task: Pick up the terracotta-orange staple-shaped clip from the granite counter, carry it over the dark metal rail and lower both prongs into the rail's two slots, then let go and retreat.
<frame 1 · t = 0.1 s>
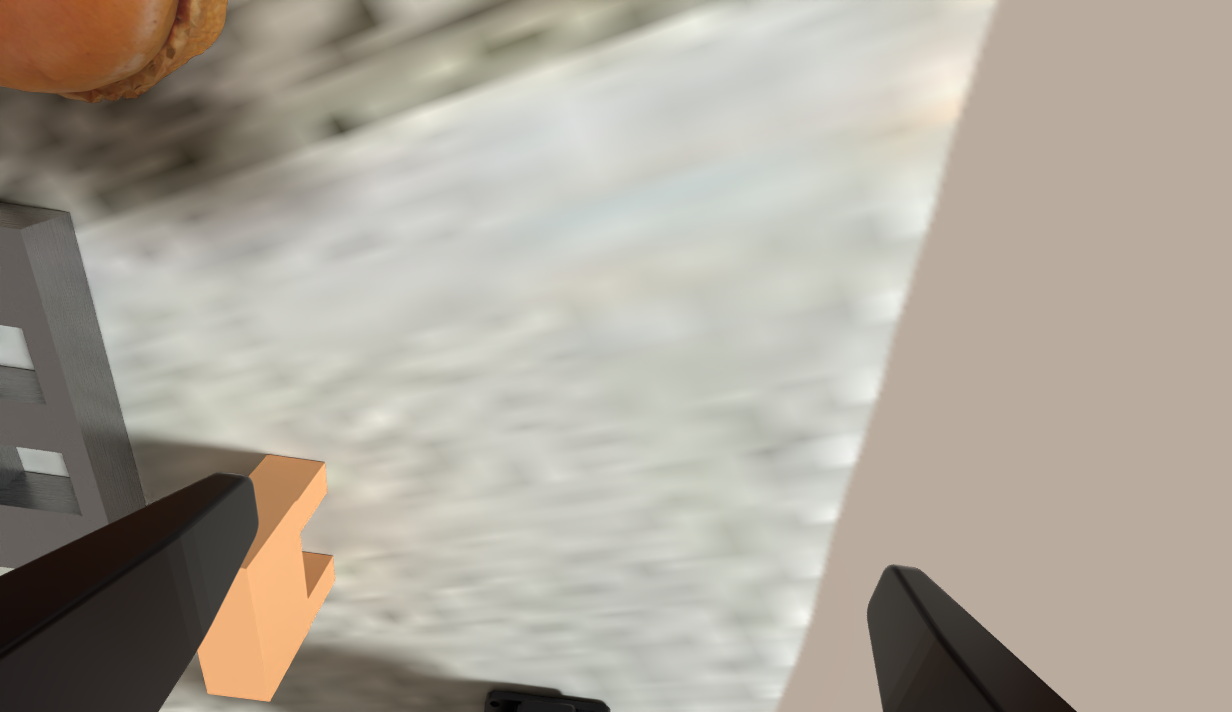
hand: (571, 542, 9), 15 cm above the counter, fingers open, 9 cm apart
clip: (303, 521, 29), on the counter
rail: (44, 394, 26), on the counter
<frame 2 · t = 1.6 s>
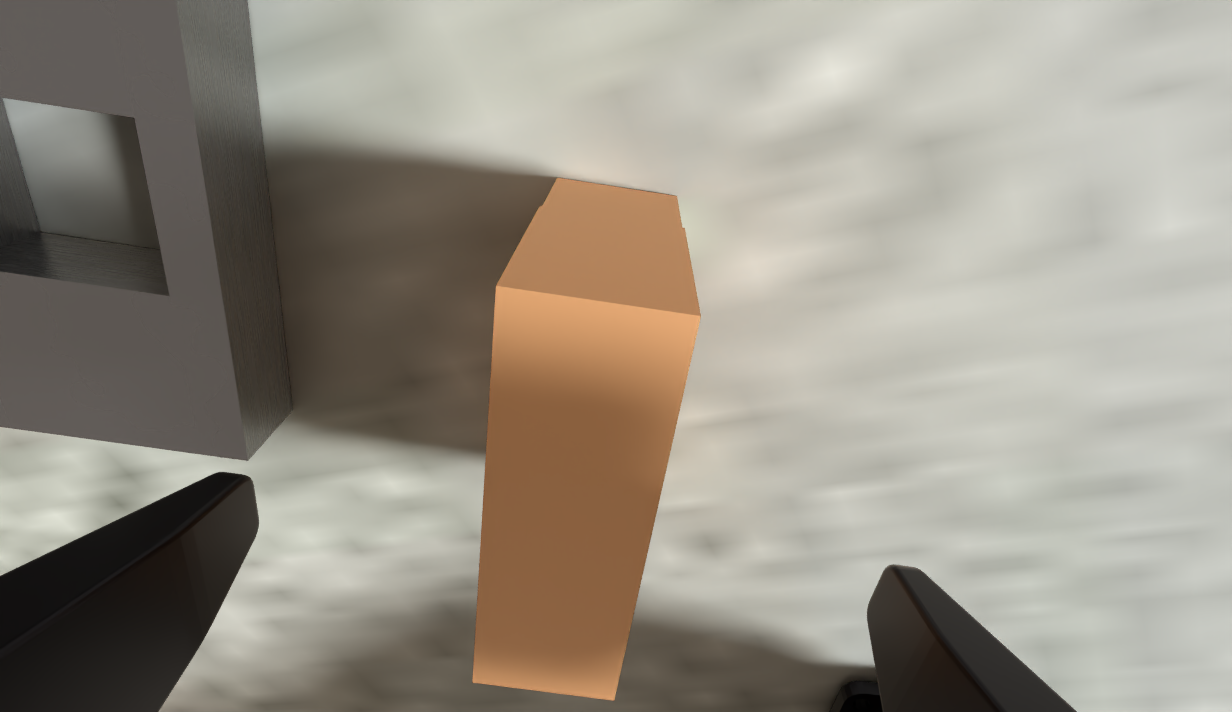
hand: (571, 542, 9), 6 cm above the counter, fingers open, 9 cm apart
clip: (594, 342, 14), on the counter
rail: (87, 22, 12), on the counter
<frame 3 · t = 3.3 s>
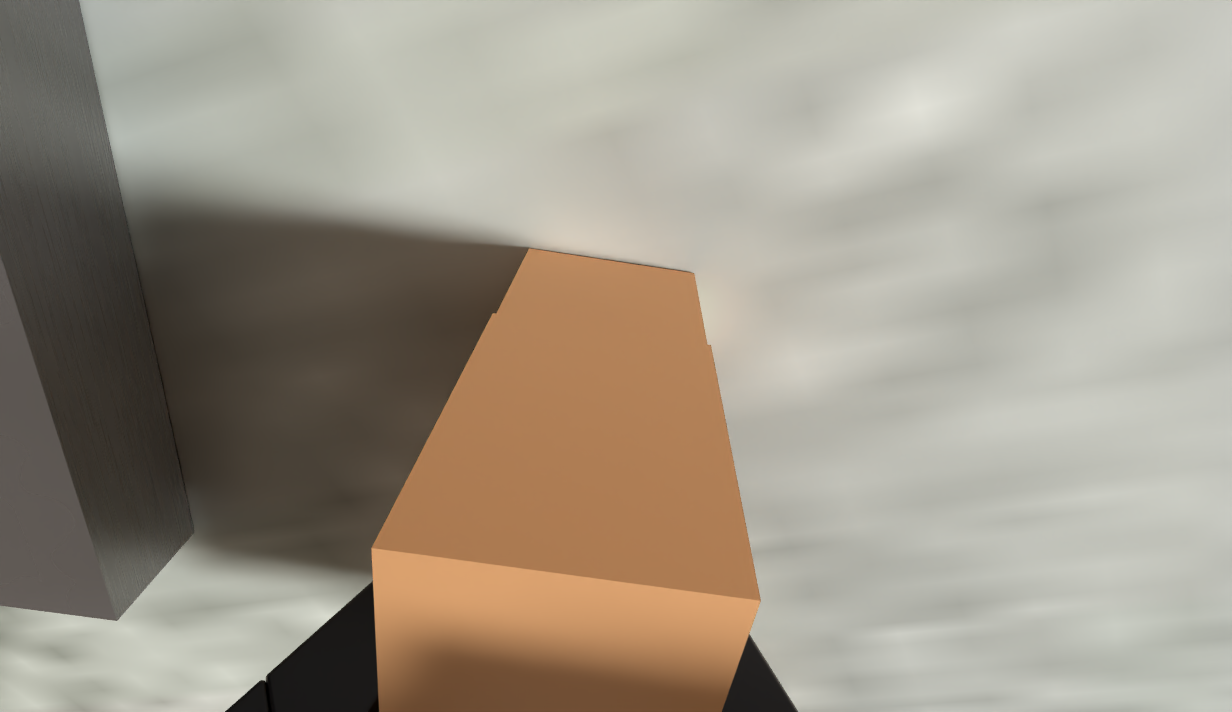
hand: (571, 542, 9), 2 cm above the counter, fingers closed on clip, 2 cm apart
clip: (583, 455, 11), on the counter, touching gripper
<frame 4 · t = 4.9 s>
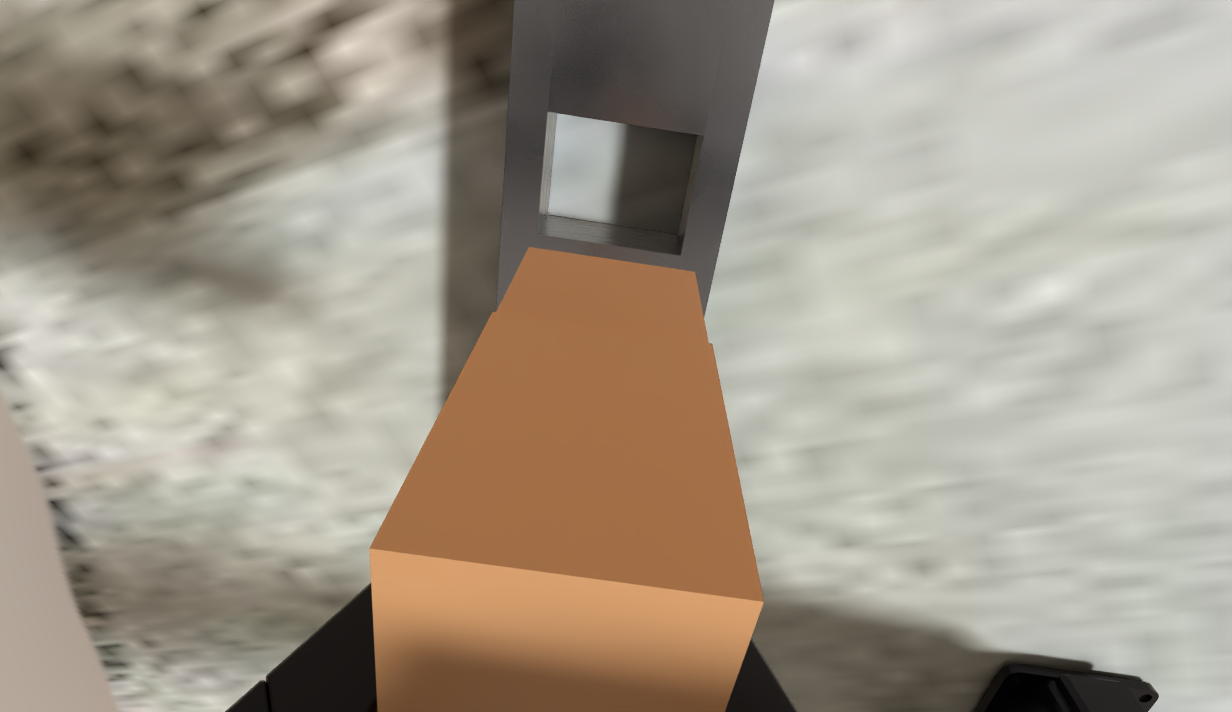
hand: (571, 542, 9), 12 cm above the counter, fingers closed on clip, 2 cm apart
clip: (583, 455, 11), point 10 cm above the counter, touching gripper
rail: (608, 259, 20), on the counter
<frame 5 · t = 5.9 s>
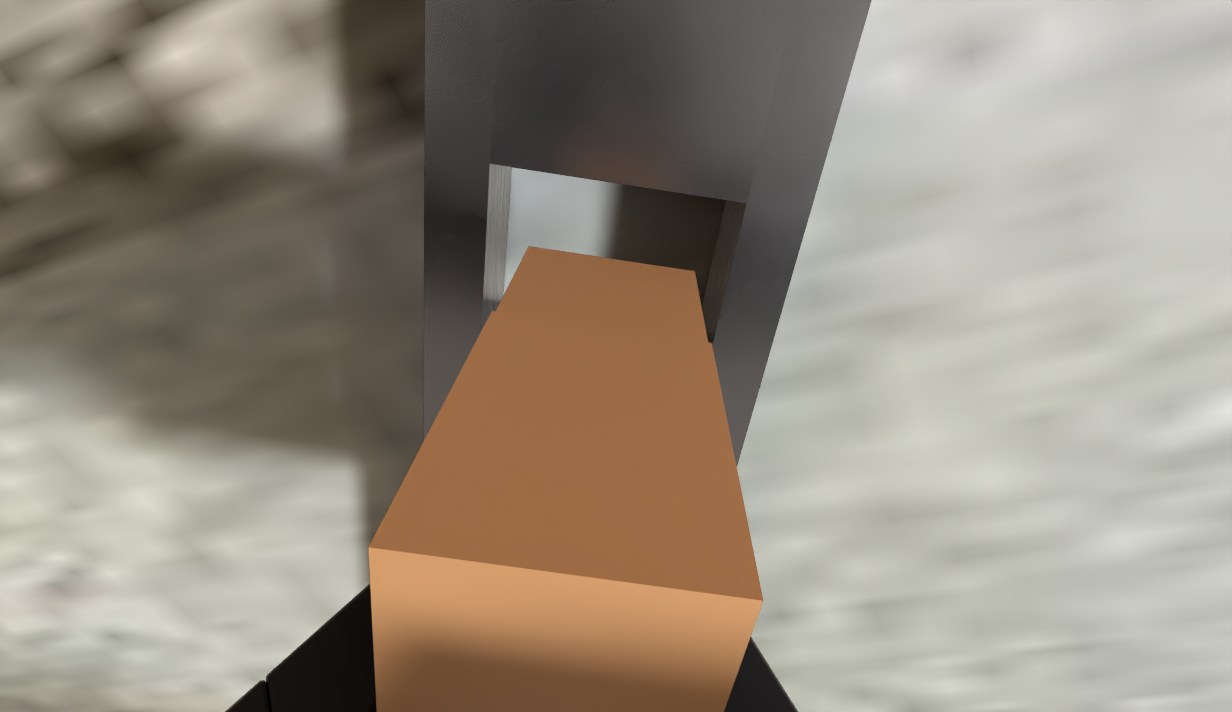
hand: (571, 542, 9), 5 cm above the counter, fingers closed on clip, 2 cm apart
clip: (583, 455, 11), point 3 cm above the counter, touching gripper
rail: (593, 363, 14), on the counter
when the fingers open (3 cm above the counter, at t = 6.8 s): clip drops 1 cm, on the counter.
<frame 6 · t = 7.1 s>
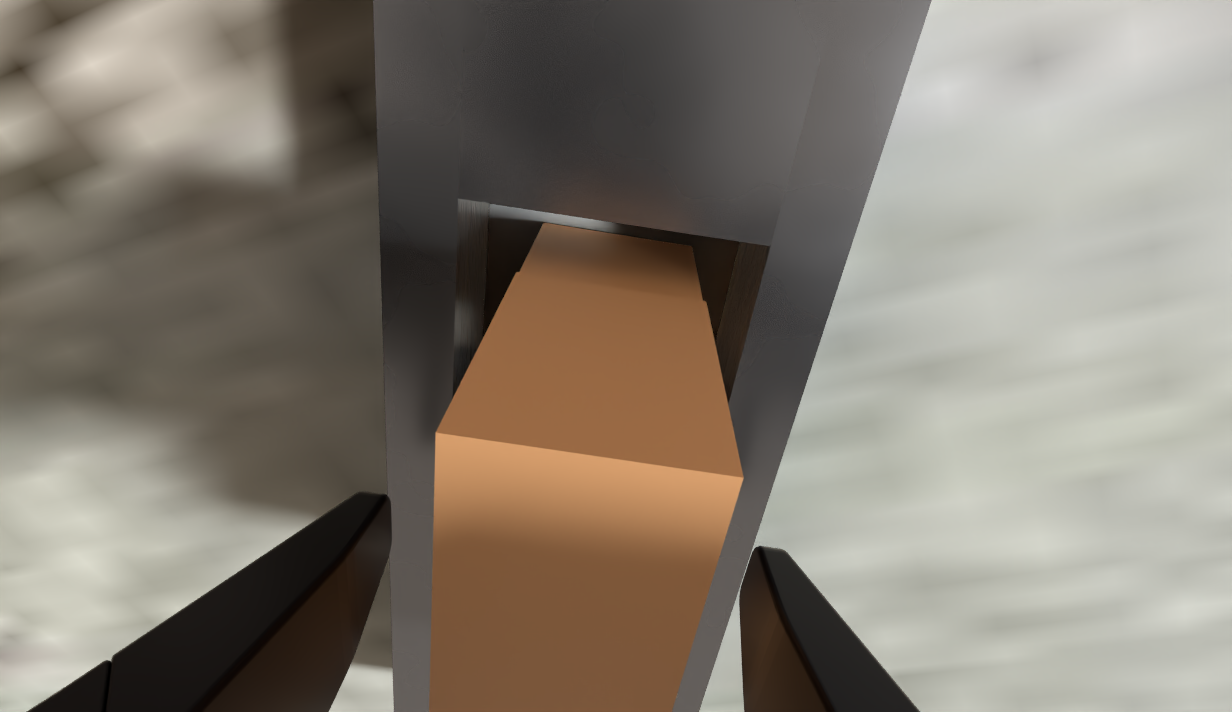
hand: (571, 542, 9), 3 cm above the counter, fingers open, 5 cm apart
clip: (589, 415, 12), on the counter
rail: (587, 417, 12), on the counter
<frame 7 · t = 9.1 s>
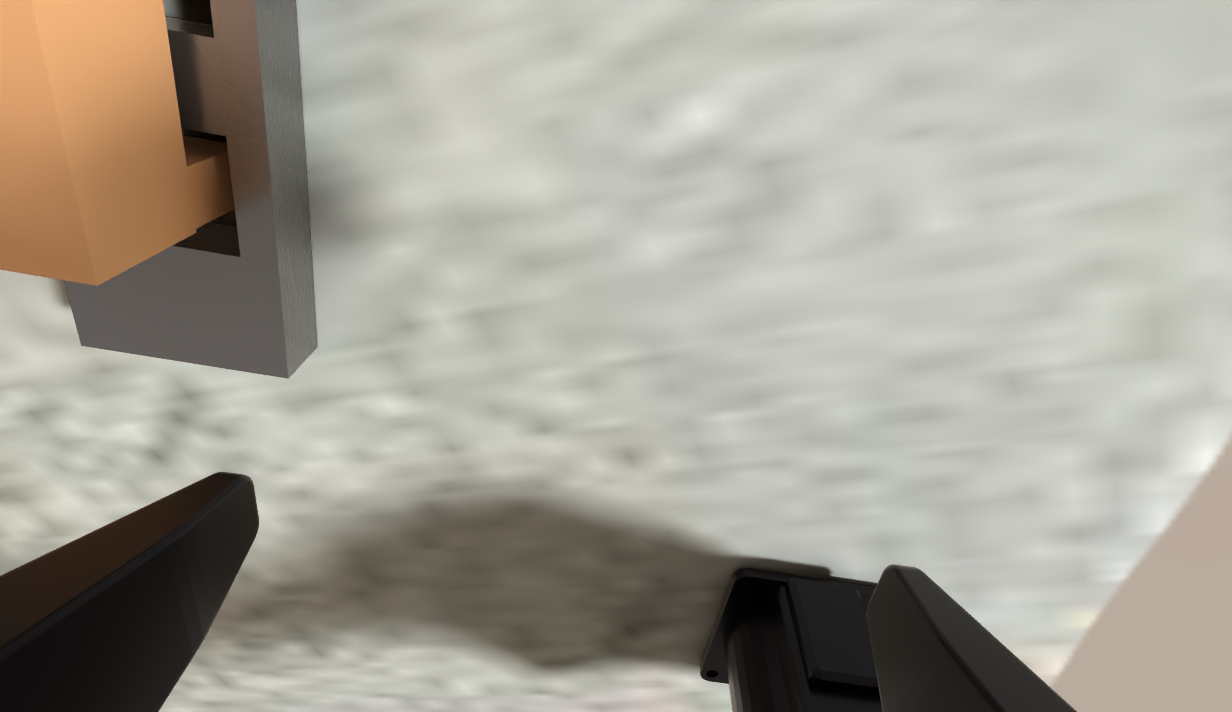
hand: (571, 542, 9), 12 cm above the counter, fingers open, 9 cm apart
clip: (187, 64, 17), on the counter
rail: (185, 65, 17), on the counter
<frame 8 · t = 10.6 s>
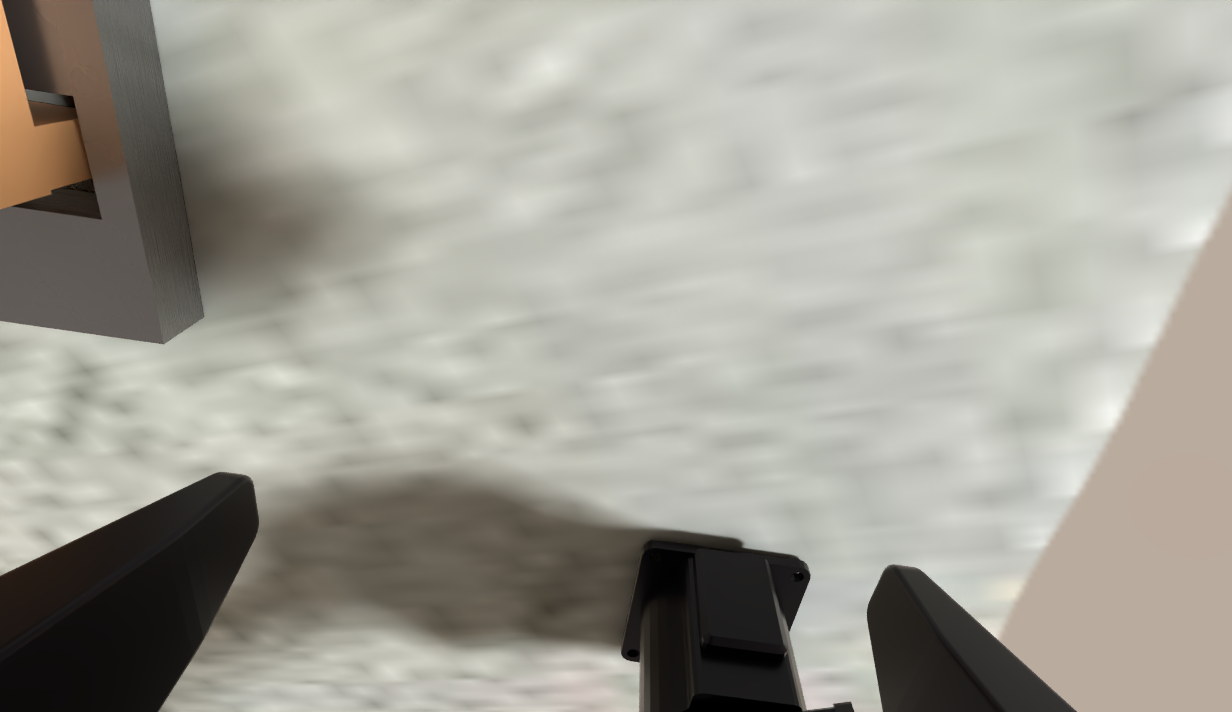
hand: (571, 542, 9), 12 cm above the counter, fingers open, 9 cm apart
clip: (47, 32, 17), on the counter
rail: (45, 33, 17), on the counter
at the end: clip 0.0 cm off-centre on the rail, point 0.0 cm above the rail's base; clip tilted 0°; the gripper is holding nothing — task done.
